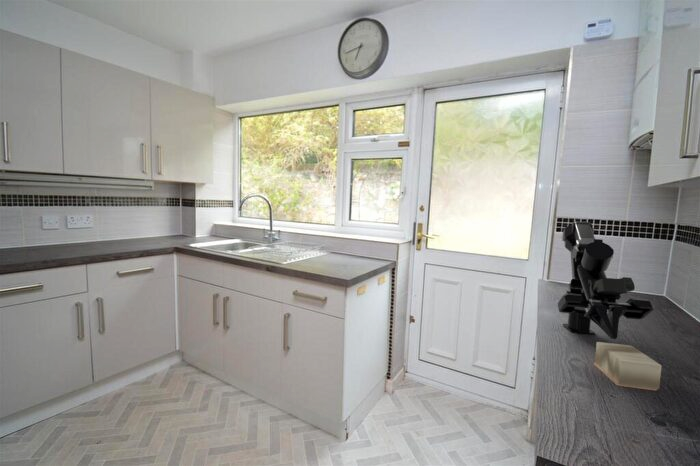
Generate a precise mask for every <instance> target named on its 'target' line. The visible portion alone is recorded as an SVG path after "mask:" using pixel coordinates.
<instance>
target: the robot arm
mask: <svg viewBox="0 0 700 466" xmlns="http://www.w3.org/2000/svg"><path fill="white" fill-rule="evenodd" d="M594 233H595V229H594V228H593V225H592V223H591V222H589V221H575V222H572V223H571V225H568V226H565V227H564V229H563V231H562V236H561V238H562V239H561V240H562V242H564V248H565V249H566V250H568V251H569V253H570V263H571V276H572V279H571V280H570V282H569V284H568V287H567V289H566V290H565V293H564V294H563V295H562V296H561V298H560V299H559V301H558V302H557V307H558V308H557V309H558V311H559V313H563V314H568V315H567V323H562V326H563V327H564V328H566V329H567V330H568V331H569V332H571V333H577V334H584V335H585V334H586V335H596V332H595V331H594V330H592V329H591V322H593V323H594V324H595V325H597V327H598V328H599V329H601V330H602V331H603V332H604V333H605V334H606V335H607V336H608V337H609V338H610V339H611V340H616V339H618V333H619V332H618V331H619V322H620V318H621V317H622V316H623V317H624V318H626V319H629V320H644V318H647V316H648V315H649V314H651V313H652V312H653V311H654V310H655V307H654V304H653V303H652V301H650V299H646V298H645V299H644V298H634V297H633V298H631V297H630V298H629V299H628V300H626V302H617V301H618V300H620V299H621V298H622V297H621V295H623V294H628V293H629V292H633V291H634V290H635V288H636V287H635V283H634V281H633V279H632V277H627V276H626V277H625V276H624V277H620V278H613V277H611V278H610V277H607V275H606V273H605V272H606V271H607V270H608V268H609V266H610V264H611V261H612V259H613V258H614V257H613V256H614V254H615V252H614V248H612V247H611V245H609V244H607V243H605V242H604V241H603V239H602V238H598V239H597V238H595V234H594Z"/></svg>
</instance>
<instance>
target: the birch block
mask: <svg viewBox="0 0 700 466" xmlns="http://www.w3.org/2000/svg"><path fill="white" fill-rule="evenodd" d="M595 346H596V347H595V356H594V357H595V358H594V363H596V364H598V365H599V366H600V367H601V368H602V369H603V370H604V371H605V372H606V373H608V374H609V375H610V376H611V377H612V378H613V379H614V380H615V381H616V382H618V383H619V384H623V385H630V386H638V387H646V388H653V389H657V390H660V384H661V376H662V365H661V364H660V363H659V362H657V361H655V360H654V359H652V358H651V357H650V356H648V355H646V354H645V353H644V352H642V351H640V350H638V349H637V348H635V347H634V346H632V345H629V344H622V343H621V344H620V343H612V342H611V343H610V342H602V341H596V345H595Z"/></svg>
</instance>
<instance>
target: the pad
mask: <svg viewBox="0 0 700 466" xmlns="http://www.w3.org/2000/svg"><path fill="white" fill-rule="evenodd" d="M593 365H594V366H595V367H596V368H598V370H599V371H600V372H602V373H603V374H604V376H606V377H607V378H608V379H610V381H611V382H612V383H614V384H615V386H618V387H626V388H633V389H639V390H640V389H642V390H648V391H657V390H658V389H653V388H646V387H638V386H630V385H623V384H619V383H618V382H616V381H615V380H614V379H613V378H612V377H611V376H610V375H609V374H608V373H606V372H605V371H604V370H603V369H602V368H601V367H600V366H599V365H598V364H596V363H595V362H594V363H593ZM657 392H658V391H657Z"/></svg>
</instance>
